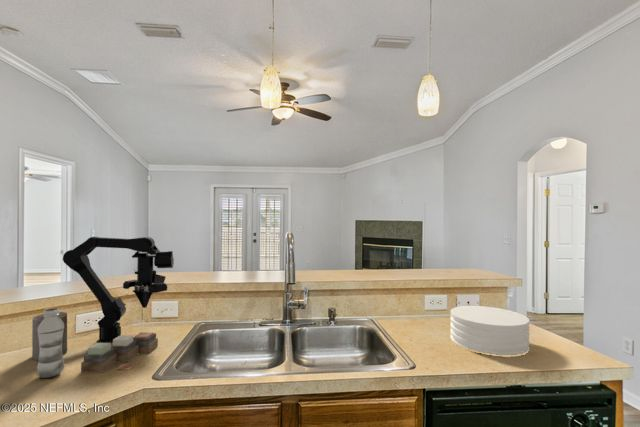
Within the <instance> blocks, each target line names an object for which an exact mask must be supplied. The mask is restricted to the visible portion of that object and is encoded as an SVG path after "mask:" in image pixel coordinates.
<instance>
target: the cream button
mask: <svg viewBox="0 0 640 427" xmlns="http://www.w3.org/2000/svg"><path fill="white" fill-rule="evenodd" d="M133 337H134V335H133V334H131V335H130V334H129V335H127V334H125V335H124V334H121V335H120V336H118V337H117V338H115V339H113V342H112V344H113V346H128V345H129V344H131V343H132V342H133Z"/></svg>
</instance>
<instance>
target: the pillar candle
mask: <svg viewBox="0 0 640 427" xmlns="http://www.w3.org/2000/svg"><path fill="white" fill-rule="evenodd" d="M59 313H60V314H59V315H58V317H59V318H60V319H61V320H62V321H63V323H64V332H63V337H62V355H65V354H67V352H68V313H67V312H65V311H59ZM43 315H44V313H41V314H38V315H34V316H33V317H32V322H31V323H32V327H31V328H32V330H31V331H32V334H31V337H32V339H31V340H32V341H31V344H32V348H31V349H32V351H31V352H32V353H31V355H32V359H33V360H34V361H39V353H40V346H39V337H38V331H37V329H38V326H39V325H40V323H41V322H42V321H43V320H44V318H45V317H43Z"/></svg>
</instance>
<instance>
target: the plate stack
mask: <svg viewBox="0 0 640 427" xmlns="http://www.w3.org/2000/svg"><path fill="white" fill-rule="evenodd" d="M530 321H531V320H530V319H529V318H528V317H527V316H526V315H524V314H522V313H520V312H516V311H513V310H509V309H505V308H499V307H493V306H484V305H462V306H455V307H452V308H451V309H450V323H449V324H450V329H449V330H450V336H449V339H450V338H451V340H452V341H453V342H455V343H456V344H458V345H460V346H462V347H465V348H468V349H471V350H475V351H478V352H483V353H489V354H496V355H517V354H523V353H525V352H527V351H528V350H529V351H530ZM451 340H450V341H451Z"/></svg>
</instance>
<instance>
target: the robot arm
mask: <svg viewBox="0 0 640 427" xmlns="http://www.w3.org/2000/svg"><path fill="white" fill-rule="evenodd" d="M155 243H156V242H155V239H154V238H152V237H149V236H143V237H133V238H122V237H121V238H119V237H118V238H117V237H100V236H92V237H91V236H90V237H89V238H87V239H86V240H85V241H83V242H82V243H81V244H79V245H78V246H76V247H74V248H73V249H69V250H67V251H65V252H64V254H63V256H62V262H64V264H65V265H66V266H67V267H68V268H70V270H73V271H74V272H76V273H77V274H78V275H79V276H80V278H81V279H82V280H83V282H84V283H85V284H86V286H87V287H88V288H89V290H90V291H91V293H92V294H93V295H94V297H95V298H96V299H97V301H98V302H99V303H100V308H101V312H102V314H103V317H102V318H101V319H100V320H98V322H97V325H98V329H99V331H98V332H99V334H98V339H97V340H96V343H113V339H115V338H117V337H118V336H120V335H122V326H121V323H120V322H119V321H121V319H122V317H123V316H125V314H126V311H127V307H126V303H124V302H123V300H122V297H121V296H119V297H117V298H116V297H114V296H112V294H111V292H110V291H109V290H108V288H107V287H106V286H105V285H104V283H103V281H102V280H101V279H100V278H99V276H98V274H96V272H95V271H94V269H93V268H92V266H91V261H90V258H89V256H88V255H90V254H91V253H92V252H93V251H94V250H95V249H96V248H109V249H110V248H111V249H128V250H132V251H134V252H135V253H134V254H133V255H132V256H131V258H133V259H134V258H137V268H136V269H137V271H134V275H136V279H130V280H125V281H124V282H123V283H122V289H125V290H129V289H130V288H132V287H133V288H134V289H133V290H132V292H133V293H134V295H135V296H136V297H137V300H138V301H139V303H140V305H141V307H142V309H143V308H144V309H146V308H147V306H148V304H149V302H150V299H151V297H152V295H153V294H156V293H161V292H166V291H168V285H167V283H166V281H165V280H166V276H165V275H160V274H157V270H155V269H154V267H156V268H157V269H173V267H174V264H175V263H174V262H175V259H174V254H173V253H174V251H172V250H168V251H160V249H159V248H158V246H156V244H155Z"/></svg>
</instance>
